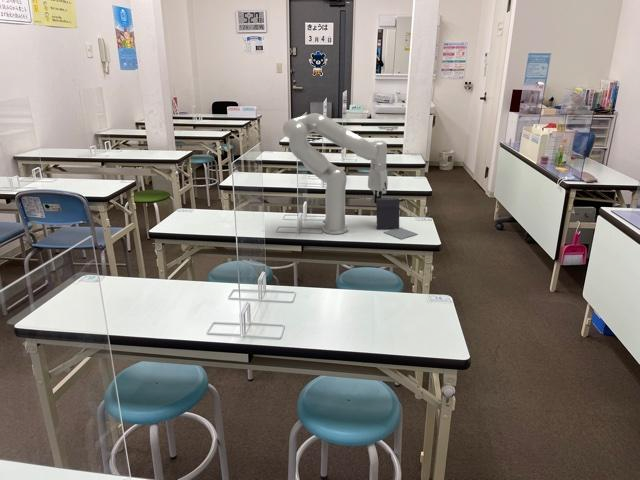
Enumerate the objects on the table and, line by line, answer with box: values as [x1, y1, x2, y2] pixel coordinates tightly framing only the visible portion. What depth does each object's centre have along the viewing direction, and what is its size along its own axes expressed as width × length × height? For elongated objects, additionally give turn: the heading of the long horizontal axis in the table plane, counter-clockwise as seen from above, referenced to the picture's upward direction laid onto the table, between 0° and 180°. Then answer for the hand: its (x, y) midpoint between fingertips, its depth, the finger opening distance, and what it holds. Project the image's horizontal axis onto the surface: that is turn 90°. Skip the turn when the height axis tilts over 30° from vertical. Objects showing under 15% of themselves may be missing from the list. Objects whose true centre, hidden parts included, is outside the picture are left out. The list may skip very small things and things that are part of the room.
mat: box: [383, 227, 419, 241], centre depth 228 cm, size 12×11×1 cm
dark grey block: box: [376, 197, 400, 230], centre depth 234 cm, size 11×4×15 cm, turn 84°
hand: (377, 203), depth 238 cm, fingers closed
